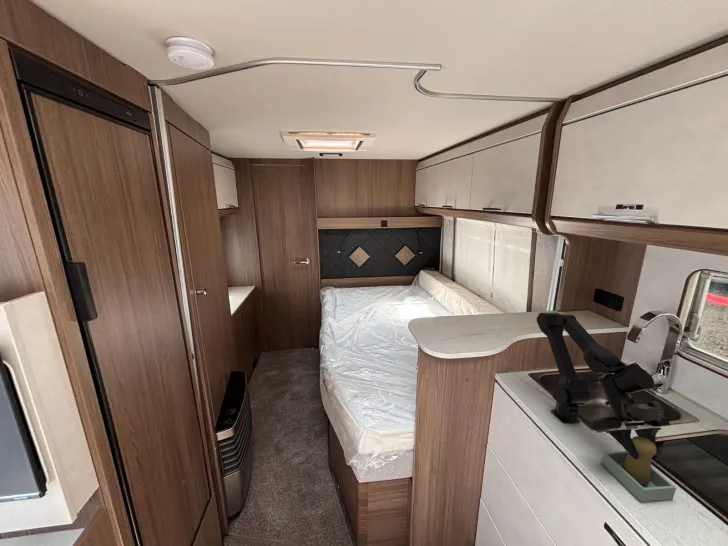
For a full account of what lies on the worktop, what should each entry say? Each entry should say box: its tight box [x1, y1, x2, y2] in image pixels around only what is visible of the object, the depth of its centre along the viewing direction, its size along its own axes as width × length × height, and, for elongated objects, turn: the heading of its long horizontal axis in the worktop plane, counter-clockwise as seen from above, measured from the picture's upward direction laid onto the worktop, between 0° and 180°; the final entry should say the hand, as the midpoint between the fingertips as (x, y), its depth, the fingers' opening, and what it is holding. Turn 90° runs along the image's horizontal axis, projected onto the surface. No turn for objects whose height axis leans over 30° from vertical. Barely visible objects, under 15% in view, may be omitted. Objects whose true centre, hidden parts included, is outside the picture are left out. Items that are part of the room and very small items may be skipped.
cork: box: [622, 435, 657, 485], centre depth 83 cm, size 6×6×11 cm
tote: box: [600, 450, 677, 504], centre depth 85 cm, size 12×9×4 cm
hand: (645, 458), depth 82 cm, fingers closed on cork, 5 cm apart
